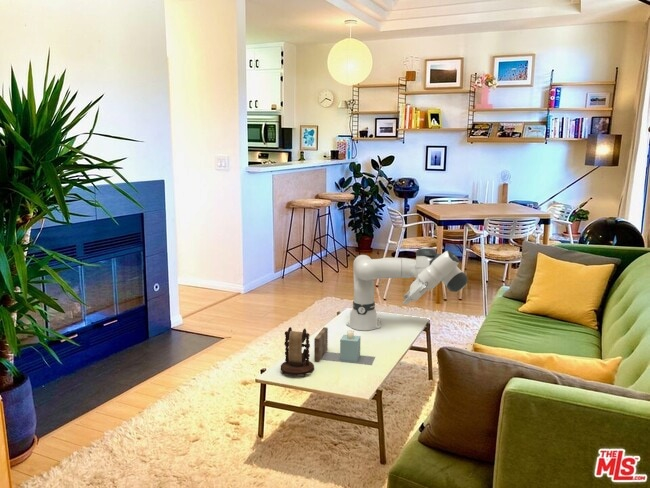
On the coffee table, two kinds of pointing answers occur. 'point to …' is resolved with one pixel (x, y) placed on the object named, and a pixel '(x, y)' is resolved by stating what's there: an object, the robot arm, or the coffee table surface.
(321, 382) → the coffee table surface
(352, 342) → the dowel block
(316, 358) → the backstop wall
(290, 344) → the scroll
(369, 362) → the grey flat rectangular plate
